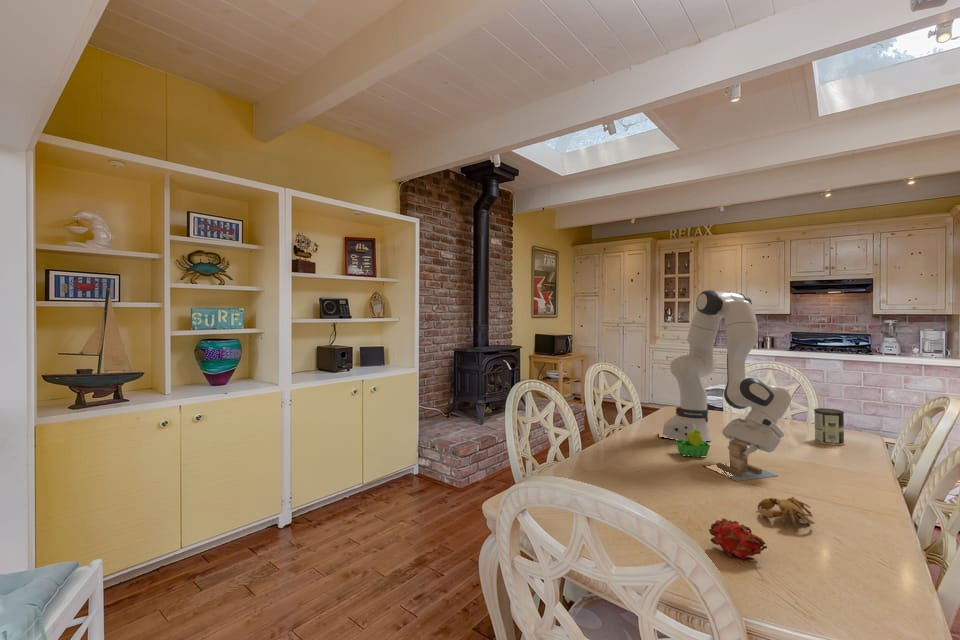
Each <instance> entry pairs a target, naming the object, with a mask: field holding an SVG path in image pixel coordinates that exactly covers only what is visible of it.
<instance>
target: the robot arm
mask: <svg viewBox="0 0 960 640" xmlns="http://www.w3.org/2000/svg"><path fill="white" fill-rule="evenodd" d="M695 306H696V310H695V312H694V315H693V317H692V320H691V324H690V326H689V327H690V328H689V330H688V334H687V337H686V341H687V343H688V345H689V353H688V354H685V355H684V354H683V355H680V356H677V357H676V358H673V359H672V360H671V362H670V364H669V369H670V370H669V371H670V372H671V374H672V375H673V376H674V378H675V379H676V381H677V384H678V387H679V388H678V389H679V397H680V398H679V401H680V402H679V403H680V406H679V405H677V406H676V407H675V415H673V416H672V417H670V418H669V419H667V420H666V421H665V422H664V424H663V426H662V430H663V433H662V434H663V435H665V436H667V437H668V438H673V439H678V440H688V438H687V436H688V434H689V433H690V432H692V431H694V430H698V431H699V432H700V435H701V437H702V441H704V442H706V441H710V440H711V441H712V436H711V434H710V428H709V423H708V422H709V420H710V419H709V416H710V415H709V409H708V394H707V391H706V389H705V388H704V386H703V384H702V381H701V380H702V379H701V378H705V377H707V376H710V375H711V374H713V373H714V372H715V370H716V367H717V364H716V361H715V359H714V345H715V341H716V337H717V334H718V331H719V327H720V323H721V320H722V319H724V327H725V328H724V329H725V335H726V336H725V337H726V371H727V372H726V373H727V375H726V377H727V381H726V385H725V388H724V392H723V397H724V400H725V402H726V403H727V404H728V405H729V406H730V407H732V408H734V409H737V410H742V409H743V410H744V409H746V408H748V407H750V408H751V410H750V411H749V412H748V414H747V415H746V416H745V418H744V419H743V418H740V417H738V418H736V419H733V420H731V421H730V422H729V423H727V424H726V425H725V427H724V428H723V429H722V431H721V433H722V435H723V436H724V437H725V438H726V439H728V440H729V442H734V441H740V442H743V443H746V444H747V449H744V450H743V451H742V454H743V455H744V456H747V458H748V457H749V455H750V454H752V453H755V452H756V451H758V450H761V451H763V452H765V453H772V452H774V451H775V450H776V448H777V447H778V446H779V445H780V442H781V439H782V438H784V437H785V434H784V432H783V431H782V429H781V428H780V427H779V426H778V423H777V422H778V420H779V419H781V418H783V416H784V414H785V413H786V412H787V410H788V409H789V407H790V405H791V403H792V396H791V394H790V393H789V391H788V390H787V389H785V387H782V386H780V385H777V384H769V383H765V382H763V381H761V380H760V379H758V378H755V377H747V378H746V361H747V357H748V356H749V354H750V352H751V351H752V349H754V347H755V346H756V344H758V340H759V326H758V320H757V317H756V316H757V315H756V312H755V310H754V307H753V302H752V300H751V298H750V297H749V296H748V295H746V294H742V293H737V292H732V291H725V290H724V291H720V290H704V291H701V292H700V293H699V294H698V296H697V298H696V302H695ZM688 441H689V440H688ZM711 441H710V442H711ZM706 443H707V442H706ZM727 449H728V450H729V445H727Z"/></svg>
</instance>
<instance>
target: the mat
mask: <svg viewBox="0 0 960 640" xmlns="http://www.w3.org/2000/svg"><path fill="white" fill-rule="evenodd" d="M722 463H723V462H716V463H715V464H716V465H717V467H718V468H720V469H722V470H723V471H724V473H725V474H726V475H727V473H726V472H729V474H730V473H731V474H732V475H733V476H730V477H729V475H727V476H728V477H729V478H728V477H727V476H726V475H725V474H724V473H723V472H722V473H723V474H724V475H725V476H726V478H728V479H730V478H732V479H733V480H732V479H731V480H732V481H734V480H735V481H734V482H742V480H743V481H748V480H751V481H752V480H757V479H758V480H759V479H766V478H774V477H775V478H776V477H779V475H778V474H775V473H772V472H770V471H767V470H765V469H762V468H760V467H757V466H755V465H752V464H750V463H748V472H741V471H739V470H736V469H734V468H731V467H729V466H727V463H728V462H724V463H725V465H724V464H722ZM725 471H726V472H725ZM731 474H730V475H731ZM725 476H724V477H725Z"/></svg>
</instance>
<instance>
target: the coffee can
mask: <svg viewBox="0 0 960 640" xmlns="http://www.w3.org/2000/svg"><path fill="white" fill-rule="evenodd" d="M813 411H814V441H815V442H817V443H819V444H822V443H823V444H822V445H827V444H828V445H829V446H844V445H845V433H844V432H845V430H844V429H845V426H844V425H845V422H844V413H845V412H844V411H842V410H840V409H839V410H838V409H834V408H822V407H821V408H820V407H819V408H814V409H813ZM843 444H844V445H843Z"/></svg>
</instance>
